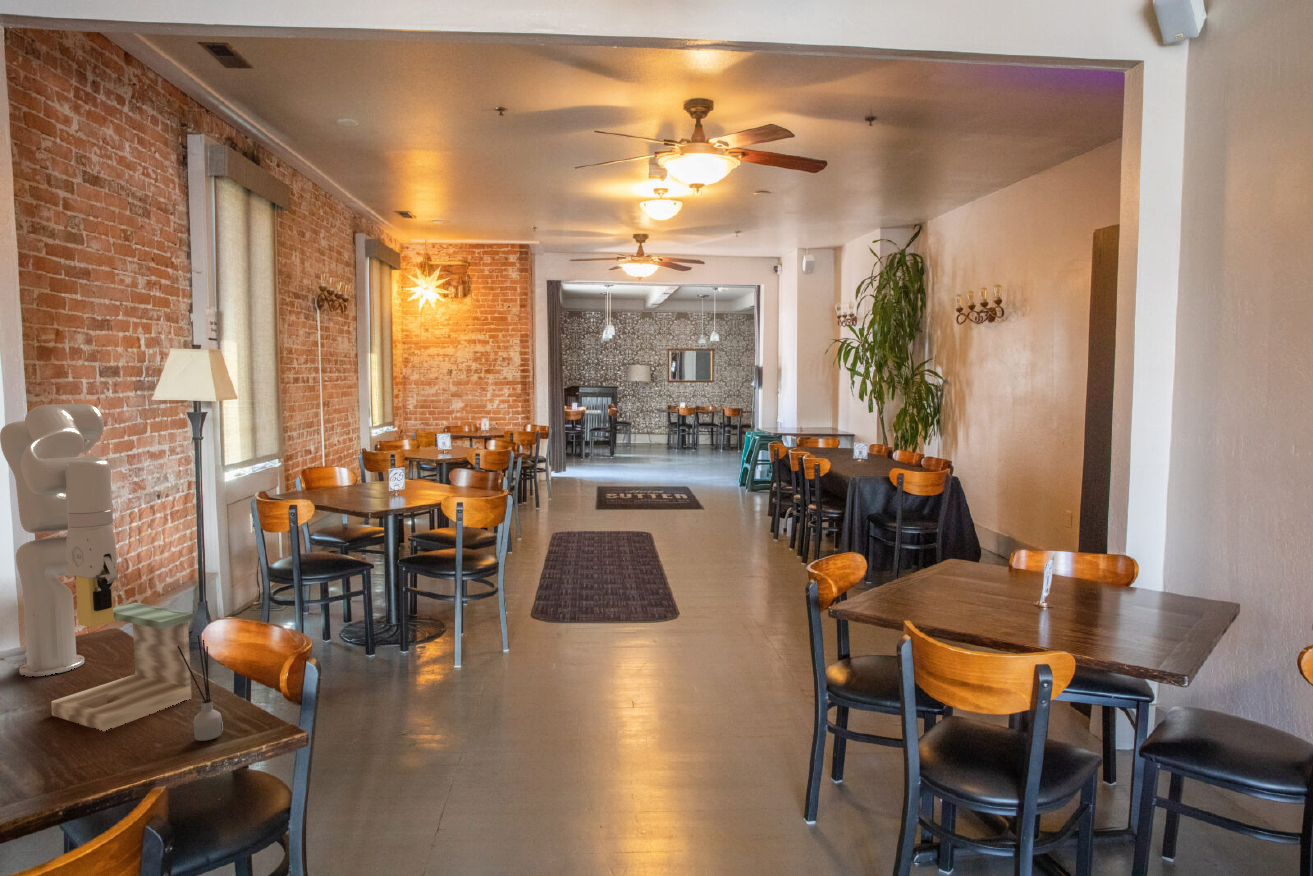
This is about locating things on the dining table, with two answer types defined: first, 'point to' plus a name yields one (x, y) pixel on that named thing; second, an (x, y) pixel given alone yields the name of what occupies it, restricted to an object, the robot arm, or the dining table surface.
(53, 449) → the robot arm
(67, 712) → the green-topped stand
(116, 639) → the dining table surface
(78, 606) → the peg
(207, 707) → the reed diffuser
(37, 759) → the dining table surface
